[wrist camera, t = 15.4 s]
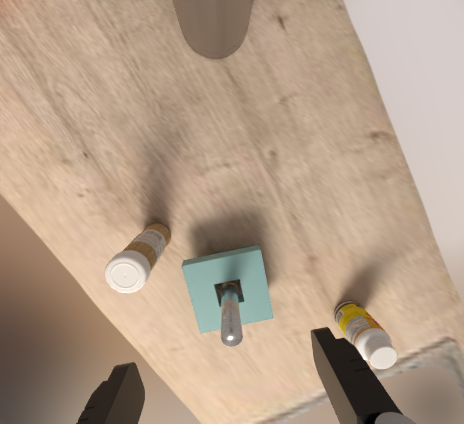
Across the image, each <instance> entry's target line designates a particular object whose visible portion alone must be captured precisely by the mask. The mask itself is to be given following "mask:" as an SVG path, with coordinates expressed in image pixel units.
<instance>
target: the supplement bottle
mask: <svg viewBox="0 0 464 424" xmlns="http://www.w3.org/2000/svg"><path fill="white" fill-rule="evenodd" d="M334 319H335V322H336V323H337V325H338V326H339V328H340V329H341V331H342V332H343V334H344V335H345V336H346V338H347V339H348V341H349V342H350V343H351V344H353V345H354V346H355V347H356V348H357V350H358V351H359V353H360V354H361V355H362V357H363V359H365V360H368V361H369V362H370V363H371V364H372V366H374V367H375V368H377V369H386V368H389V367H390V366H392V365H393V364H394V363H395V361H396V359H397V352H396V351H395V349H394V348H393V347H392V342H391V338H390V336H389V335H388V334H387V333H386V331H385V330H384V329H383V328H382V327H381V326H380V325H379V324H378V323H377V322H376V321H375V320H374V319H373V318H372V317H371V316H370V315H369V314H368V312H367V311H366V310H365V309H364V308H363V307H362V306H361V305H360V304H358V303H356V302H353V301H348V302H344V303H342V304H340V305H339V306H338V307H337V308H336V310H335V313H334Z"/></svg>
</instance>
